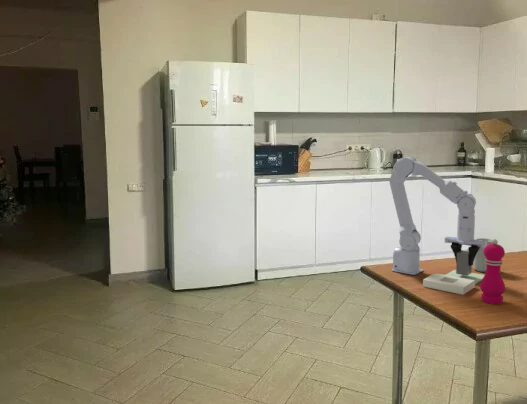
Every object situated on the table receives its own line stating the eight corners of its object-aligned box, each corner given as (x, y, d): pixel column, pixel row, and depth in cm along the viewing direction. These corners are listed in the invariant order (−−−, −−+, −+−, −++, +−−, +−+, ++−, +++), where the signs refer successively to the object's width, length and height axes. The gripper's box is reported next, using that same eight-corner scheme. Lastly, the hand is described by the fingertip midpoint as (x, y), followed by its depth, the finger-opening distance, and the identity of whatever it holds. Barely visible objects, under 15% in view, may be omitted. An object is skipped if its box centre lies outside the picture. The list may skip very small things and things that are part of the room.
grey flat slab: (422, 286, 172) (423, 279, 172) (435, 279, 179) (435, 273, 179) (463, 294, 162) (463, 287, 162) (474, 287, 170) (474, 280, 169)
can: (495, 268, 191) (496, 238, 189) (492, 273, 185) (493, 242, 183) (474, 266, 195) (475, 236, 193) (471, 271, 189) (472, 240, 187)
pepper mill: (503, 306, 151) (506, 242, 149) (477, 302, 155) (480, 240, 152) (505, 299, 157) (508, 238, 155) (481, 295, 161) (483, 235, 158)
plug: (456, 273, 180) (456, 252, 179) (460, 271, 183) (461, 250, 182) (467, 275, 178) (468, 254, 176) (471, 273, 180) (472, 251, 179)
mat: (441, 278, 181) (441, 276, 181) (454, 270, 189) (454, 269, 189) (474, 284, 172) (474, 283, 172) (486, 276, 181) (486, 275, 181)
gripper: (441, 227, 180) (440, 263, 182) (482, 232, 170) (481, 270, 172) (449, 224, 185) (448, 259, 187) (489, 228, 176) (488, 265, 177)
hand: (464, 264), depth 180 cm, fingers closed on plug, 4 cm apart
